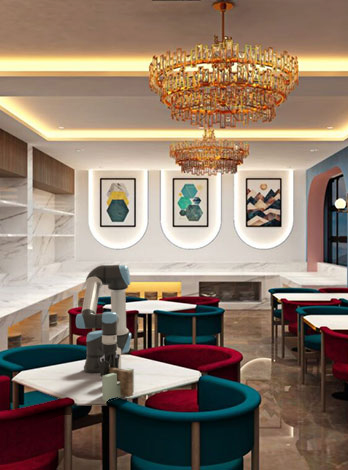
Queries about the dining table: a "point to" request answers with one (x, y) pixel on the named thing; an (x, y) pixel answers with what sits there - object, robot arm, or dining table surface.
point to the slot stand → (112, 386)
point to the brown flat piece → (124, 380)
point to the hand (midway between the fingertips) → (109, 389)
